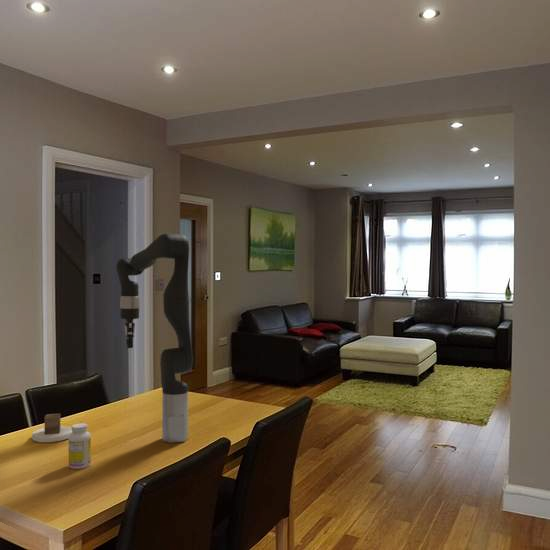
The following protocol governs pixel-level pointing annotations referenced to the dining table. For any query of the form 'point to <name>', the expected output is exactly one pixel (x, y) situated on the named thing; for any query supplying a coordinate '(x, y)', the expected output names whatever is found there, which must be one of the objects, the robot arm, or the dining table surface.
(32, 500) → the dining table surface
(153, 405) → the dining table surface
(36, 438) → the plastic lid
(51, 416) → the walnut block
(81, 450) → the supplement bottle
